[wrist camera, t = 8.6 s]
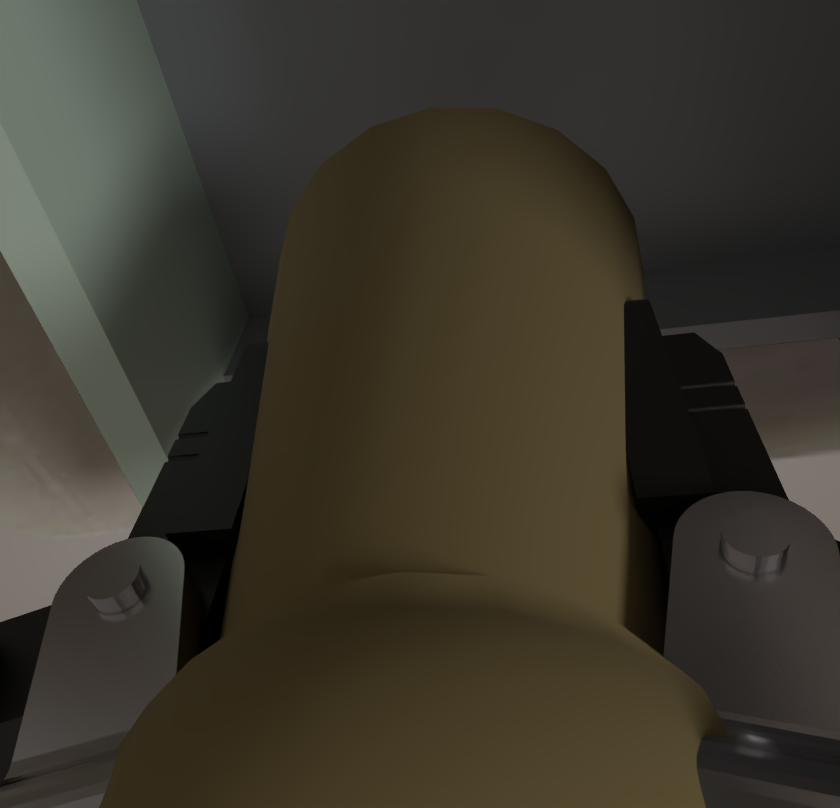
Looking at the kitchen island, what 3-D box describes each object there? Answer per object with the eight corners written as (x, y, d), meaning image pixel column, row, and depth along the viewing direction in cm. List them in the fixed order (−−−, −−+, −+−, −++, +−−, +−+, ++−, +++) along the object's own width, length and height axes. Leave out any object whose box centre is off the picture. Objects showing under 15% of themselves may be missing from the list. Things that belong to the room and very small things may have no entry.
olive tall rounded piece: (326, 441, 15) (120, 1298, 6) (232, 136, 11) (-543, 1158, 3) (640, 414, 14) (899, 1366, 5) (646, 74, 11) (1437, 1290, 2)
